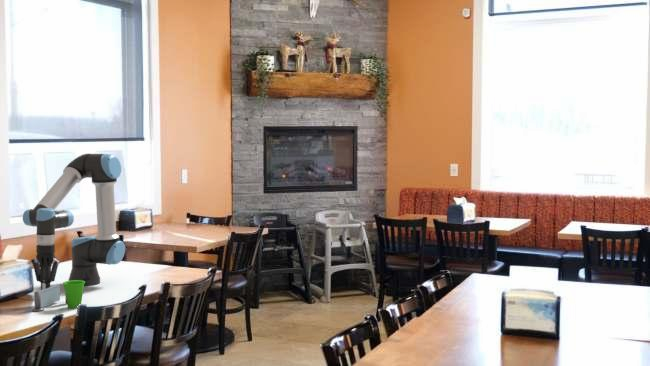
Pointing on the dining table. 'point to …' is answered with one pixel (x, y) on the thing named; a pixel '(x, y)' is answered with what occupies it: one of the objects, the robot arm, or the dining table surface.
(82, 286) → the cup
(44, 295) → the gate
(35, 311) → the hinge base
